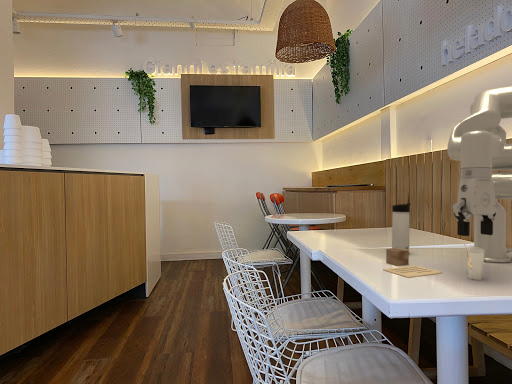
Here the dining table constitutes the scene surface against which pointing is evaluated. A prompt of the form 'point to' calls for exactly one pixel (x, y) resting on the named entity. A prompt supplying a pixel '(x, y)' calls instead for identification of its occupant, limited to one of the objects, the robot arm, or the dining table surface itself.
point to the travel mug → (400, 226)
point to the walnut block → (397, 256)
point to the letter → (412, 271)
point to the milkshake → (475, 262)
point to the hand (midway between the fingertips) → (475, 235)
